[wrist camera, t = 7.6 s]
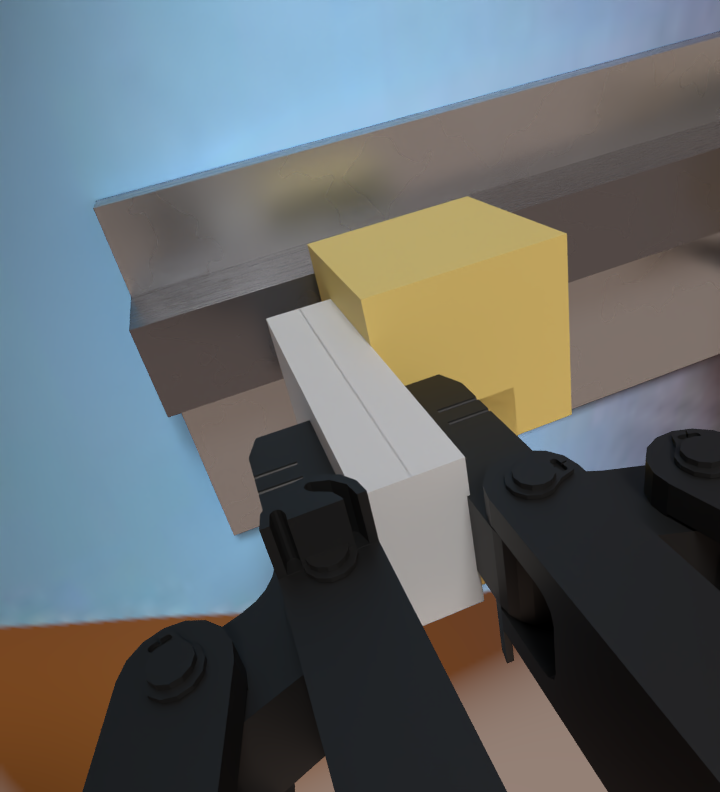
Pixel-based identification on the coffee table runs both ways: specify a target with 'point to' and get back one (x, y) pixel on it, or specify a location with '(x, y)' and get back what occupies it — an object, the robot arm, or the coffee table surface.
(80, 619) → the coffee table surface
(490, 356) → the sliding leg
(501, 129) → the hole plate
